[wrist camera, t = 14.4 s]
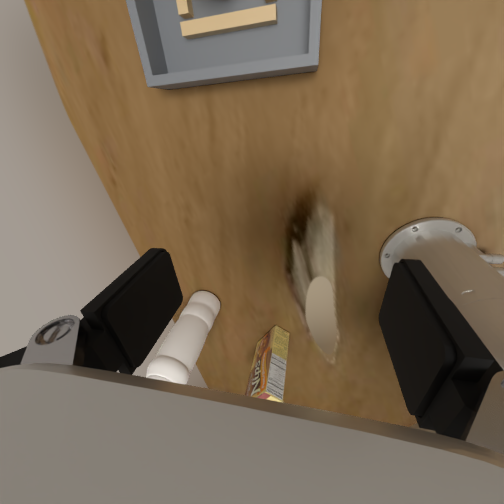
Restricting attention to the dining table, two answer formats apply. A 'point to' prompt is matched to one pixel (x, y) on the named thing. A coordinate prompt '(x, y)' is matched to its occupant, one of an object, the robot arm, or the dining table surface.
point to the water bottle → (185, 340)
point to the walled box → (224, 39)
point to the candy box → (269, 366)
